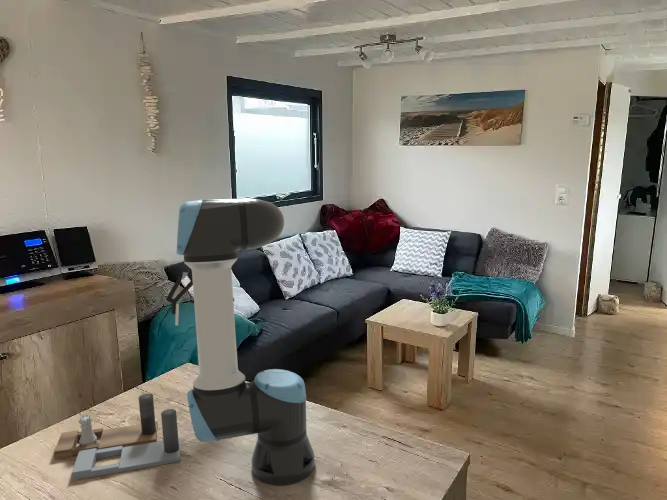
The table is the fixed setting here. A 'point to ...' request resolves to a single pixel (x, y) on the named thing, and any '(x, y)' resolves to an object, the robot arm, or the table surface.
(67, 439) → the brown board with post
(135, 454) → the grey board with post
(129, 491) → the table surface
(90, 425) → the rook chess piece
